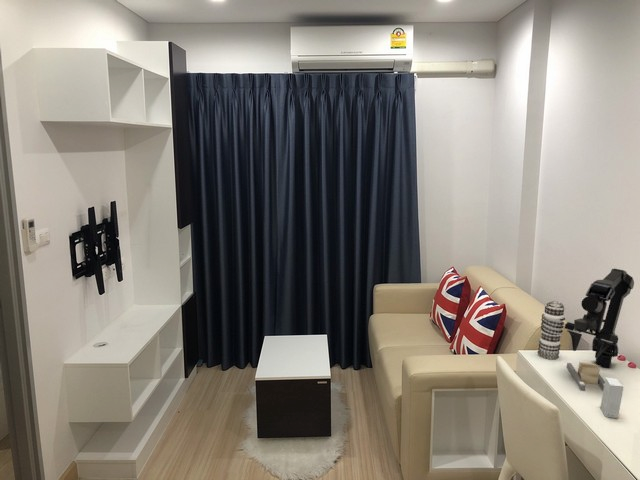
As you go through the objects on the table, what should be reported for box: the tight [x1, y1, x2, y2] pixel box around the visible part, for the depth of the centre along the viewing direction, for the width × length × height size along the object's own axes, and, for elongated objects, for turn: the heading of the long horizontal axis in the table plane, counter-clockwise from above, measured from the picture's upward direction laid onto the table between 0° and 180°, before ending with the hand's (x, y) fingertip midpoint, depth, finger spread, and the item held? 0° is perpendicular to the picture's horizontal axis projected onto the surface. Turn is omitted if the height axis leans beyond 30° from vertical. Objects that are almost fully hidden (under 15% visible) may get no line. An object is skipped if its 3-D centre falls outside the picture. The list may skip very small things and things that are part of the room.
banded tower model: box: [537, 300, 566, 360], centre depth 225 cm, size 9×9×25 cm
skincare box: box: [600, 377, 624, 419], centre depth 184 cm, size 6×4×12 cm
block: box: [577, 361, 601, 385], centre depth 206 cm, size 5×6×6 cm
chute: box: [566, 362, 605, 392], centre depth 207 cm, size 20×12×3 cm, turn 169°
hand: (584, 354), depth 201 cm, fingers open, 9 cm apart
